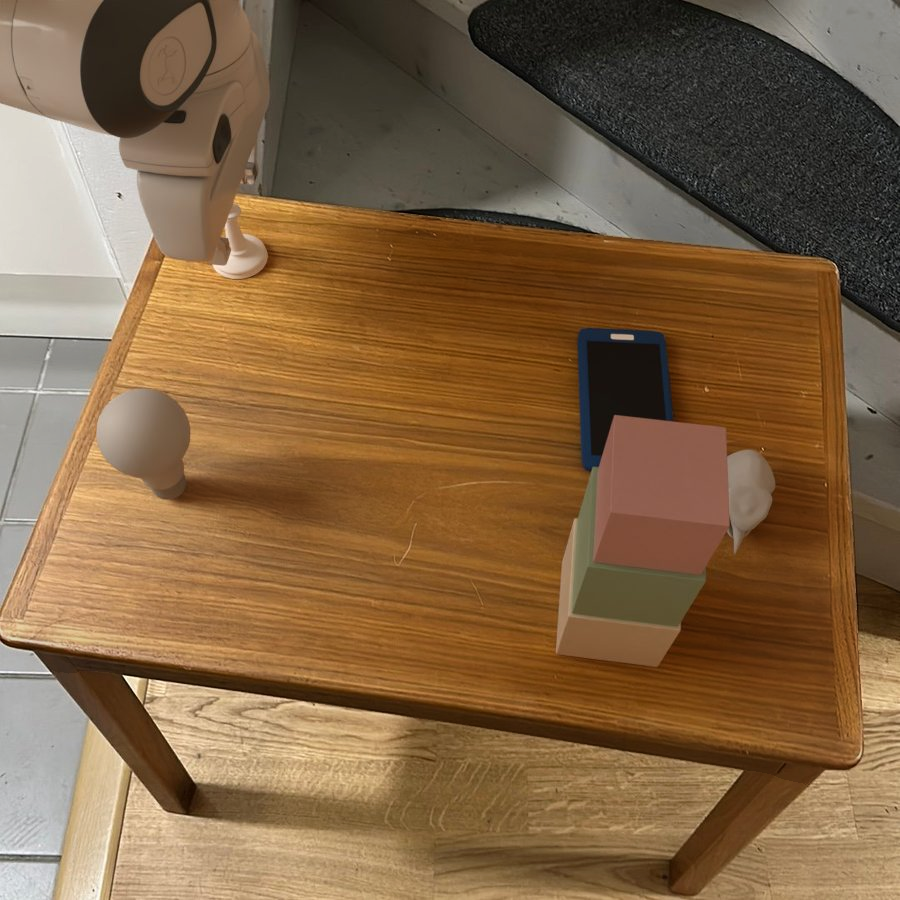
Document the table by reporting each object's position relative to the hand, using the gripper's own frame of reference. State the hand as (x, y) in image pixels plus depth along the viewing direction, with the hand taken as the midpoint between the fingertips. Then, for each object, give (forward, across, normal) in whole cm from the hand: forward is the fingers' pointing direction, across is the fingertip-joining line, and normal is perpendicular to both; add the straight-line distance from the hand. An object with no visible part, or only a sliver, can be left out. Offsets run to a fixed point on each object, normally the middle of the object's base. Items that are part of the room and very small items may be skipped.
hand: (234, 217), depth 78 cm
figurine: (+5, +20, +43) cm, 48 cm away
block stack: (+5, +29, +34) cm, 45 cm away
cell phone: (+5, +11, +34) cm, 36 cm away
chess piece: (+5, 0, 0) cm, 5 cm away
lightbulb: (+5, +24, 0) cm, 24 cm away
